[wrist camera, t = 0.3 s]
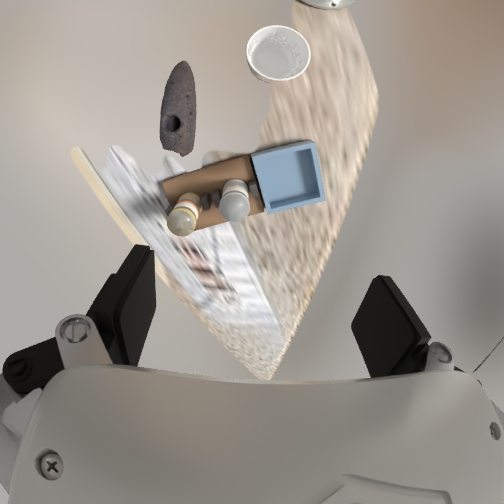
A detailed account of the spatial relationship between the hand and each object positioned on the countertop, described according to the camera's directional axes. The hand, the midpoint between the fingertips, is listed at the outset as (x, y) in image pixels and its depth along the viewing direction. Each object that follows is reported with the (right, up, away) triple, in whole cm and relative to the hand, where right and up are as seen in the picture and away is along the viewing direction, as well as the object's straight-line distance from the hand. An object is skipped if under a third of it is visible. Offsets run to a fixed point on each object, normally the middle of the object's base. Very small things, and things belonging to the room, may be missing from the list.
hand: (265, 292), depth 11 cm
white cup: (+2, +31, +24) cm, 39 cm away
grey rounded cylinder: (-3, +12, +33) cm, 35 cm away
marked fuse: (-11, +10, +34) cm, 37 cm away
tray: (+5, +15, +33) cm, 37 cm away
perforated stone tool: (-11, +25, +27) cm, 38 cm away
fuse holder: (-7, +11, +35) cm, 37 cm away
